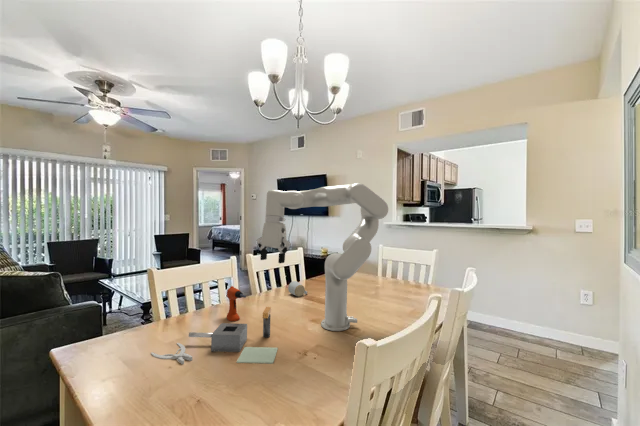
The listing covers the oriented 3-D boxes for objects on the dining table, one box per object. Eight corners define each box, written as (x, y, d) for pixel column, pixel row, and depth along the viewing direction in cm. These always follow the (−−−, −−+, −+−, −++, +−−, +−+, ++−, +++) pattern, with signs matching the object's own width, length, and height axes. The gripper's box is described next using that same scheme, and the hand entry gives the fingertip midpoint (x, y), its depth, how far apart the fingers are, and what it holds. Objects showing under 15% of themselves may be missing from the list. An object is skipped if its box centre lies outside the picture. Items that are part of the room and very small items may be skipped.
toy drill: (240, 327, 118) (239, 290, 119) (224, 319, 133) (223, 286, 134) (251, 324, 121) (250, 288, 122) (235, 316, 136) (234, 284, 137)
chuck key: (271, 332, 117) (272, 306, 117) (268, 340, 110) (268, 313, 110) (264, 332, 117) (265, 306, 117) (261, 340, 110) (261, 313, 110)
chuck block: (246, 339, 111) (247, 323, 111) (239, 352, 101) (239, 335, 101) (195, 338, 111) (195, 322, 111) (182, 350, 101) (183, 333, 101)
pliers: (178, 340, 106) (201, 352, 97) (178, 344, 106) (201, 357, 97) (150, 350, 98) (172, 365, 89) (150, 355, 98) (172, 370, 89)
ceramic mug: (295, 298, 163) (295, 284, 163) (287, 294, 170) (288, 281, 170) (310, 295, 170) (310, 282, 170) (302, 292, 176) (303, 279, 176)
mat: (277, 348, 104) (277, 347, 104) (273, 363, 94) (273, 362, 94) (244, 348, 104) (244, 346, 104) (236, 362, 94) (236, 361, 94)
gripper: (296, 221, 117) (294, 263, 117) (265, 218, 126) (263, 257, 126) (285, 221, 111) (282, 265, 111) (252, 218, 120) (250, 259, 120)
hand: (272, 261), depth 119 cm, fingers open, 9 cm apart
